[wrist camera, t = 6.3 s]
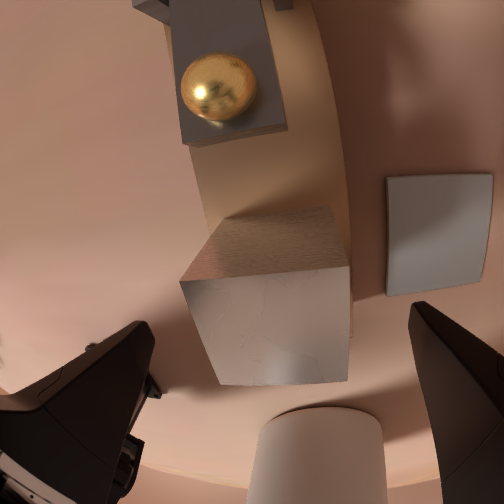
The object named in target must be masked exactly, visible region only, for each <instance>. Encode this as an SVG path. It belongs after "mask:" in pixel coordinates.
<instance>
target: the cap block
mask: <svg viewBox="0 0 504 504" xmlns="http://www.w3.org/2000/svg"><path fill="white" fill-rule="evenodd" d="M179 282H180V285H181V288H182V290H183V293H184V296H185V299H186V301H187V304H188V307H189V309H190V312H191V315H192V317H193V320H194V322H195V325H196V328H197V330H198V333H199V335H200V338H201V340H202V343H203V345H204V348H205V350H206V352H207V355H208V357H209V360H210V362H211V364H212V367H213V369H214V371H215V374H216V376H217V378H218V380H219V383H220V385H252V386H267V385H301V384H318V383H331V382H342V381H347V379H348V362H349V336H350V274H349V263H348V260H347V256H346V253H345V250H344V246H343V243H342V240H341V236H340V233H339V230H338V227H337V224H336V220H335V217H334V214H333V211H332V208H331V205H328V206H319V207H310V208H301V209H293V210H285V211H277V212H269V213H261V214H253V215H246V216H239V217H232V218H225V219H223V220H222V221H221V222H220V224H219V225H218V227H217V228H216V229H215V231H214V232H213V234H212V235H211V236H210V238H209V239H208V241H207V242H206V243H205V245H204V246H203V248H202V249H201V251H200V252H199V253H198V255H197V256H196V258H195V259H194V261H193V262H192V263H191V265H190V266H189V268H188V269H187V271H186V272H185V274H184V275H183V277H182V278H181V279H180V281H179Z"/></svg>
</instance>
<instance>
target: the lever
mask: <svg viewBox="0 0 504 504" xmlns="http://www.w3.org/2000/svg"><path fill="white" fill-rule="evenodd" d="M169 13H170V29H171V42H172V54H173V65H174V76H175V85H176V95H177V103H178V112H179V120H180V128H181V135H182V143H183V144H185V145H189V146H193V147H196V148H200V147H205V146H209V145H214V144H218V143H223V142H228V141H233V140H238V139H243V138H248V137H254V136H260V135H265V134H272V133H278V132H285V131H289V130H288V124H287V119H286V113H285V108H284V103H283V97H282V92H281V87H280V82H279V77H278V72H277V68H276V63H275V58H274V54H273V49H272V45H271V40H270V36H269V32H268V28H267V23H266V19H265V15H264V11H263V7H262V4H261V0H169Z"/></svg>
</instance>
